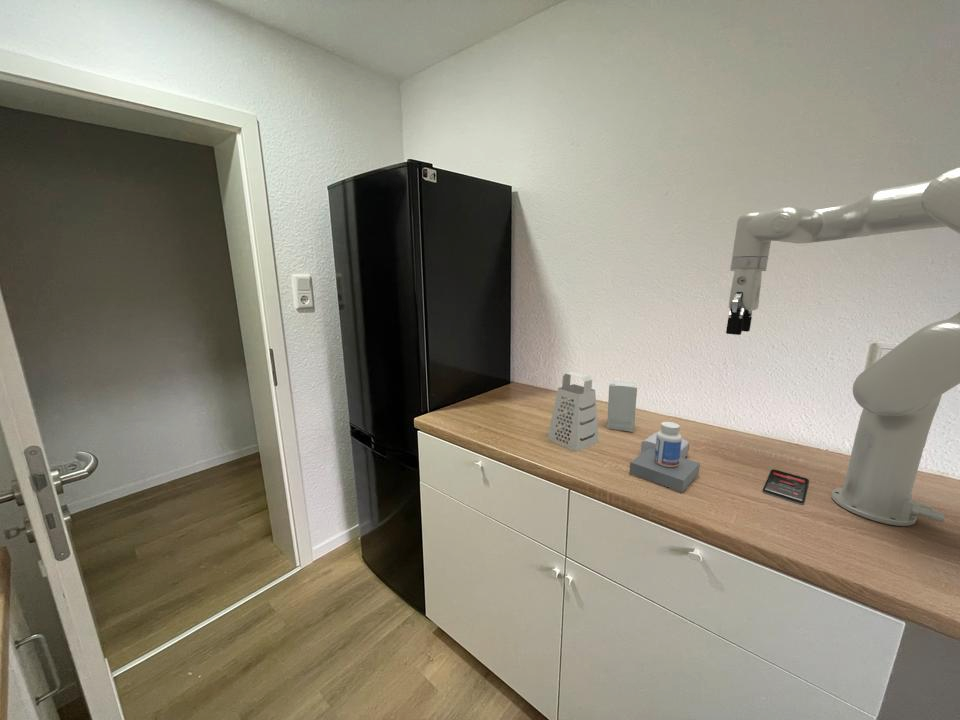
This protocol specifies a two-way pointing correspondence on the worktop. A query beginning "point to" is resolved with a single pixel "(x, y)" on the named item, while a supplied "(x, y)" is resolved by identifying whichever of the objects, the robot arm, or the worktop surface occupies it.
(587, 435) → the grater
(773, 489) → the smartphone
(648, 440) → the charger
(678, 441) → the pill bottle
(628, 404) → the skincare box
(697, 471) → the grey pad
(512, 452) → the worktop surface
